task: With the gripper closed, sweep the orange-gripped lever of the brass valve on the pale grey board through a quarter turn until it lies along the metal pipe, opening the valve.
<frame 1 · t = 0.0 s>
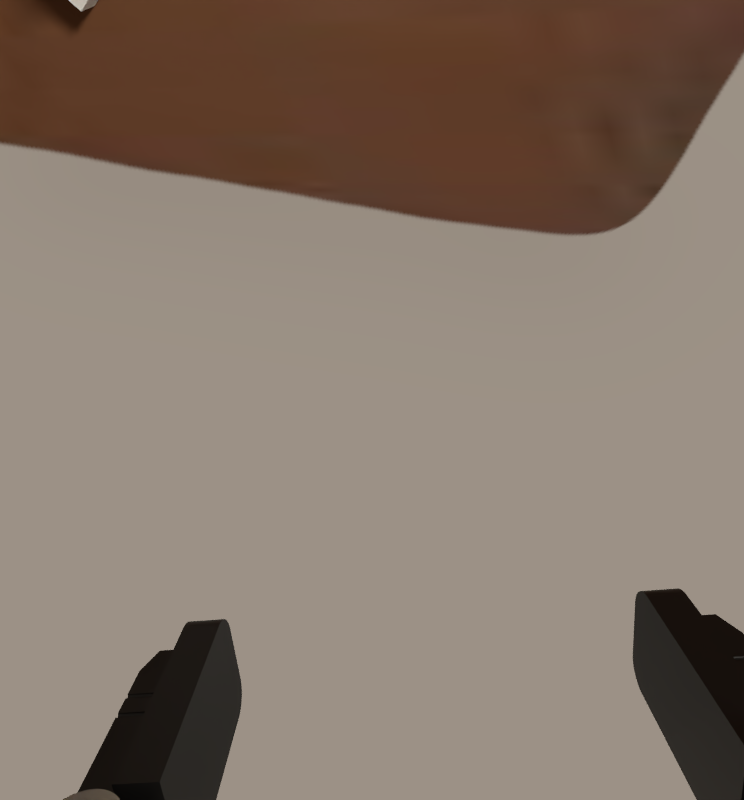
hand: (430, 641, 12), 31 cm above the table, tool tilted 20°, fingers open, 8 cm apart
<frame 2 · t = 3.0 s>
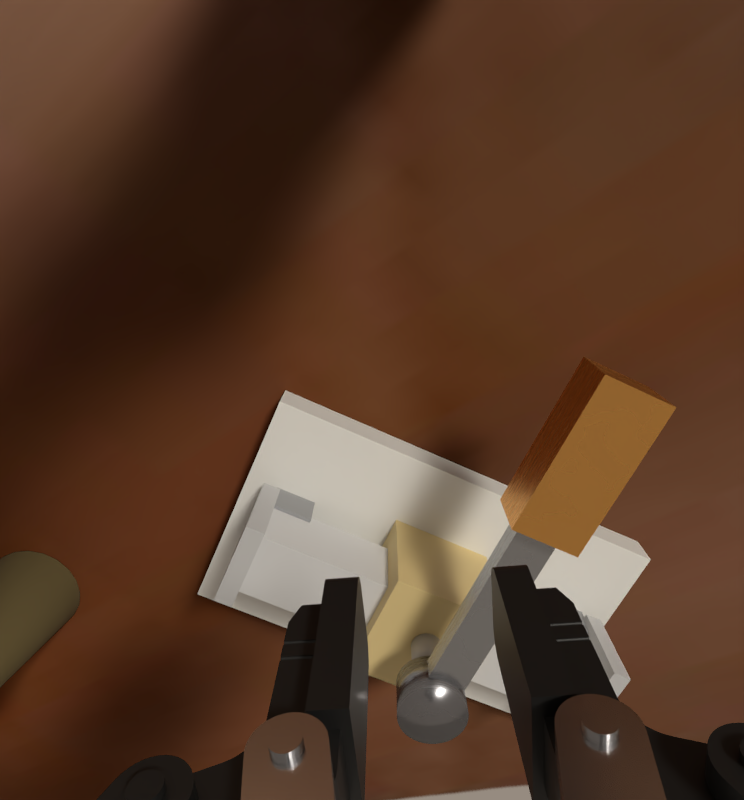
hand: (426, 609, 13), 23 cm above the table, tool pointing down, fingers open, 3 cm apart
lever: (510, 570, 26), point 11 cm above the table, hinge at 0.0°
valve: (418, 558, 39), on the table
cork: (36, 588, 41), on the table
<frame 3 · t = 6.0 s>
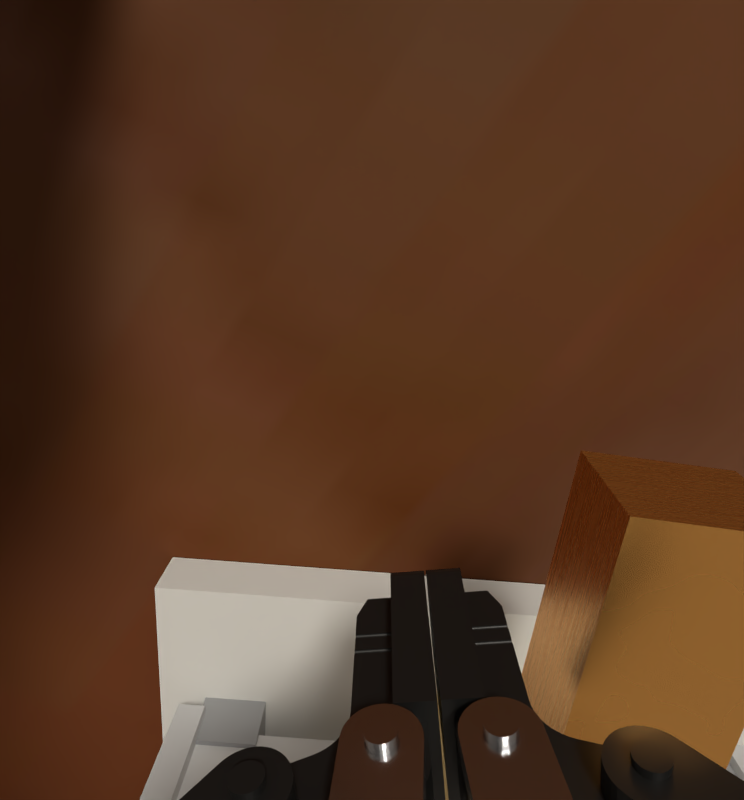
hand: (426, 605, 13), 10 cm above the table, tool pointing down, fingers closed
valve: (450, 714, 27), on the table
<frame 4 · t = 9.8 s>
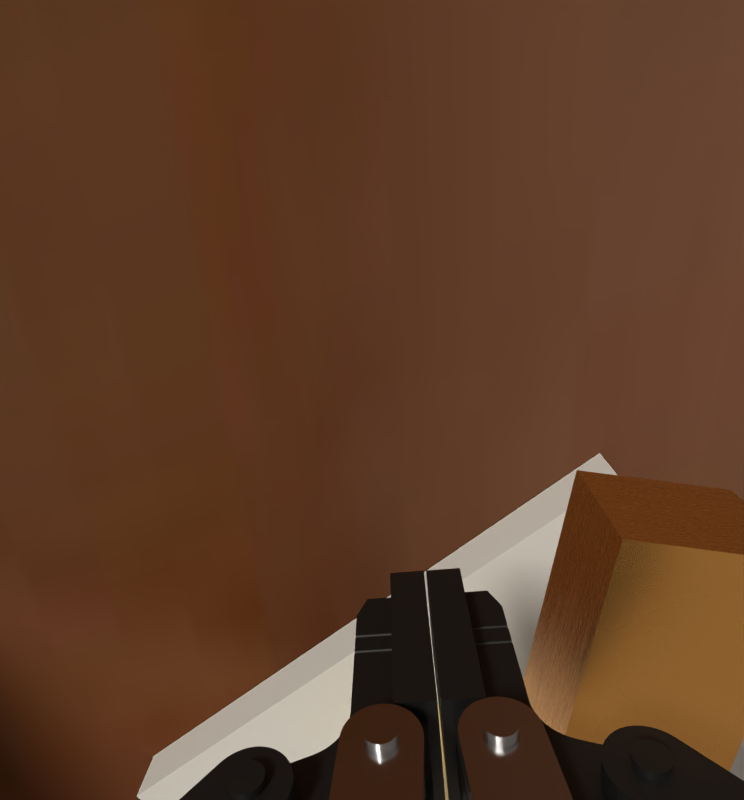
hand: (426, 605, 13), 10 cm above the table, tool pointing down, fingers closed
valve: (455, 725, 27), on the table
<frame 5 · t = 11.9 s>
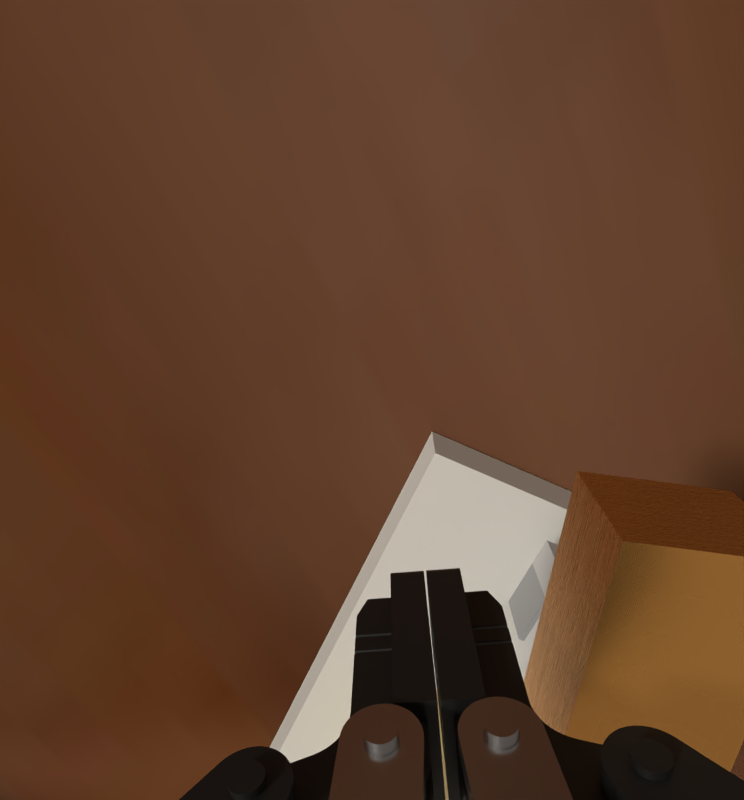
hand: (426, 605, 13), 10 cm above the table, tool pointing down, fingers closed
valve: (457, 724, 27), on the table
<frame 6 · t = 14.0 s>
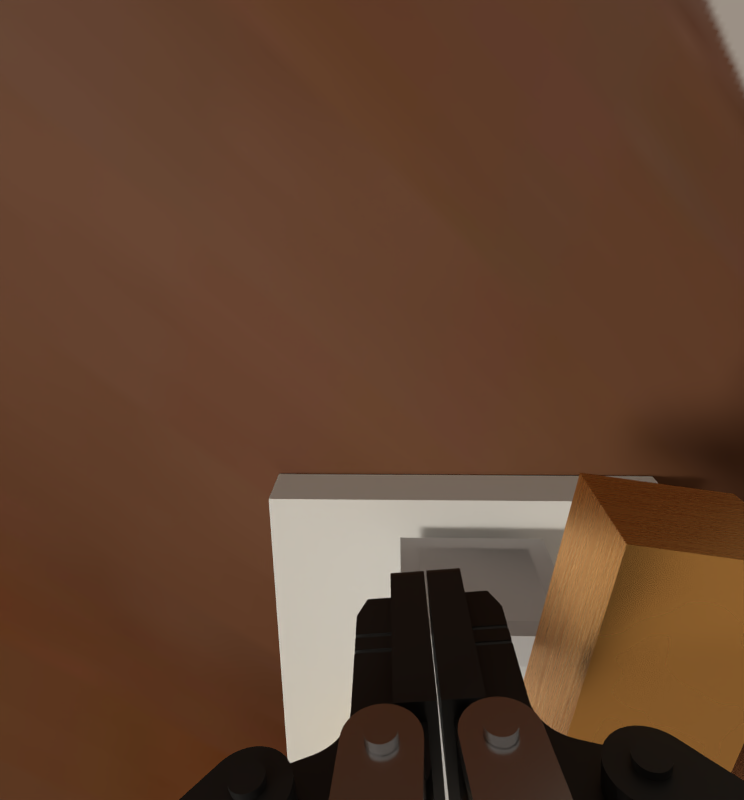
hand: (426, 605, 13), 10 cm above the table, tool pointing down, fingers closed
valve: (453, 721, 27), on the table
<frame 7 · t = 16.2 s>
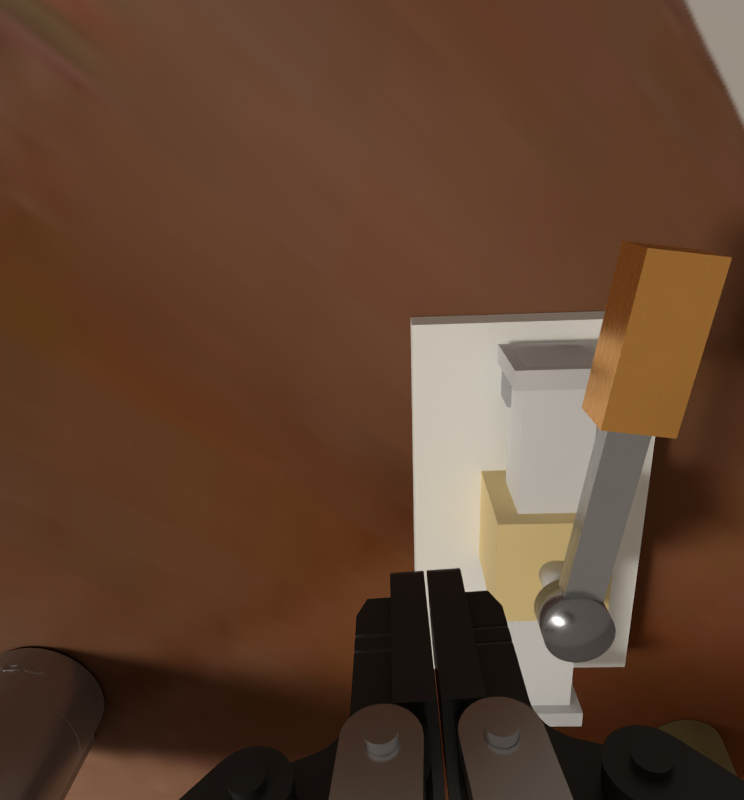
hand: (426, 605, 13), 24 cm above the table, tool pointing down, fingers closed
lever: (613, 472, 26), point 12 cm above the table, hinge at -98.3°
valve: (522, 497, 39), on the table
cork: (680, 747, 47), on the table
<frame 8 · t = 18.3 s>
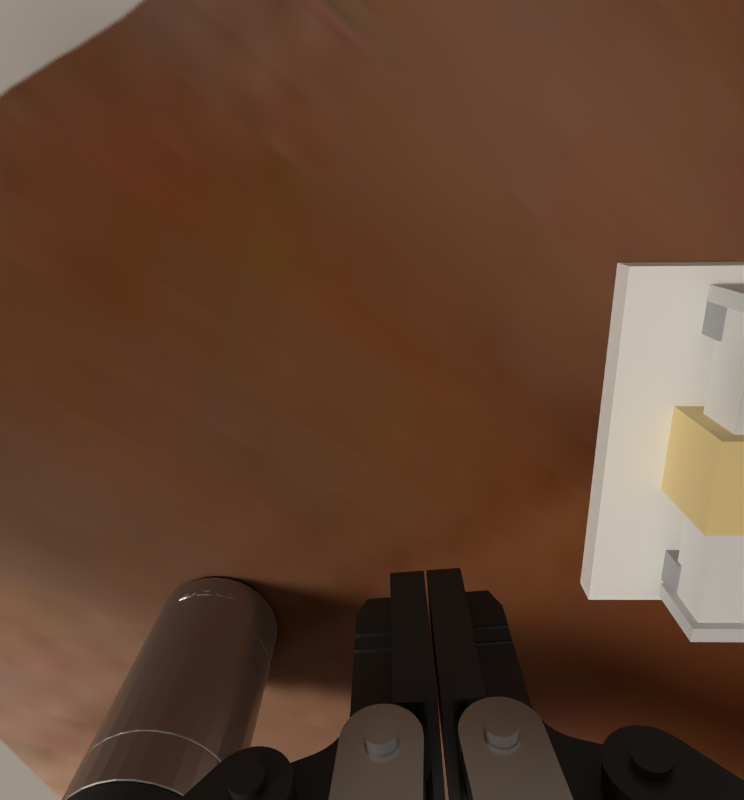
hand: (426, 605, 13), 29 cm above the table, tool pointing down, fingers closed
valve: (698, 437, 43), on the table
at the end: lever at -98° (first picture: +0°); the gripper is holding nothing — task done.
